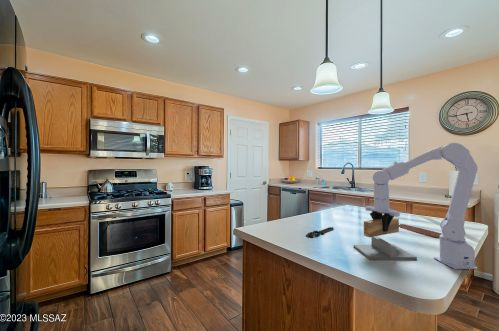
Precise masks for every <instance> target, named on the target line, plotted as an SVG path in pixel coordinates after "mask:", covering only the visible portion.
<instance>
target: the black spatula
mask: <svg viewBox="0 0 499 331" xmlns="http://www.w3.org/2000/svg"><path fill="white" fill-rule="evenodd" d="M333 230H335V228H334V226H331V227H330V226H329V227H326V228H324V229H321V230H313V231H310V232H308V233H307V234H305V237H306V238H310V239H314V237H316V238H318V237H320V236H321V235H323V236H325V233H328V232H331V231H333Z"/></svg>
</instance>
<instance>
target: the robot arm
mask: <svg viewBox="0 0 499 331" xmlns="http://www.w3.org/2000/svg"><path fill="white" fill-rule="evenodd" d="M443 159H444V160H445V161H447V162H449V163H451V164H452V165H453V166H454V168H456V169H457V170H458V171H457V172H458V173H457V175H456V180H455V182H454V187H453V190H452V196H451V199H450V203H449V206H448V211H447V212H446V214H445V218H444V219H443V220H441V222H440V229H441V233H442V234H441V235H440V238H439V256H433V259H434V260H436V261H438V262H440V263H442V264H444V265H446V266H448V267H450V268H452V269H454V270H477V269H478V267H477V266H476V265H475V264H476V259H475V258H476V257H475V255H476V254H475V252H476V251H475V248H474V247H473V246H472V245H470V244H469V243H467V241H466V238H465V236H466V230H465V218H466V212H467V208H468V206H469V202H470V198H471V196H472V191H473V187H474V183H475V180H476V175H477V172H478V165H477V163H476V161H475V160H474V158H473V156H472V155H471V152H470V150H469V149H468V148H467V147H466V146H464V145H463V144H462V143H458V142H451V143H447V144H446V145H444V146H443V145H442V146H439V147H436V148H432V149H430V150H428V151H426V152H423V153H422V154H420V155H418V156H415V157H413V158H412V159H410V160H408V161H393V163H392V164H391V165H388V166H387V167H382V168H381V169H382V170H377V171H375V172H374V173H373V175H372V180H373V206H371V205H367V206H366V205H365V211H367V212H370V213H369V215H370V217H371V220H376V219H382V225H383V231H384V232H386V231H388V228H389V225H390V222H391V221H392V219H393V218H398V217H401V214H400V213H401V212H400V211H399V210H394V209H391V208H390V188H389V182H390V181H393V180H396V179H398V178H401V177H404V176H405V175H408V174H409V172H410V170H411V169H413V168H415V167H418V166H420V165H423V164H425V163H427V162H430V161H433V160H439V161H440V160H443Z"/></svg>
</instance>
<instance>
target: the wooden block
mask: <svg viewBox="0 0 499 331" xmlns="http://www.w3.org/2000/svg"><path fill="white" fill-rule="evenodd" d="M399 221H400V219H399V218H398V217H394V218H393V219H392V221H391V222H390V225H389V228H388V231H386V232H384V231H383V225H382V219H376V220H373V219H370V220H364V221H363V236H365V237H367V238H371V237H374V236H377V237H380V236H385V235H391V234H395V233H399V232H400V228H399V224H400V222H399Z"/></svg>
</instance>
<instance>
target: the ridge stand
mask: <svg viewBox="0 0 499 331" xmlns="http://www.w3.org/2000/svg"><path fill="white" fill-rule="evenodd" d="M370 238H371V244H353V248H355V250H357V251H358V252H359V253H360V254H362V255H363V256H364V257H366V258H367V259H368V260H369V261H388V260H389V261H394V260H395V261H401V260H402V261H404V260H405V261H408V260H409V261H411V260H413V261H414V260H415V261H416V260H417V261H418V256H416V255H414V254H412V253H410V252H409V251H406V250H405V249H403V248H401V247H399V246H397V245H396V244H393V243H390V242H388V241H386V240H385V239H382V238H381V237H380V236H374V237H370Z"/></svg>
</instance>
